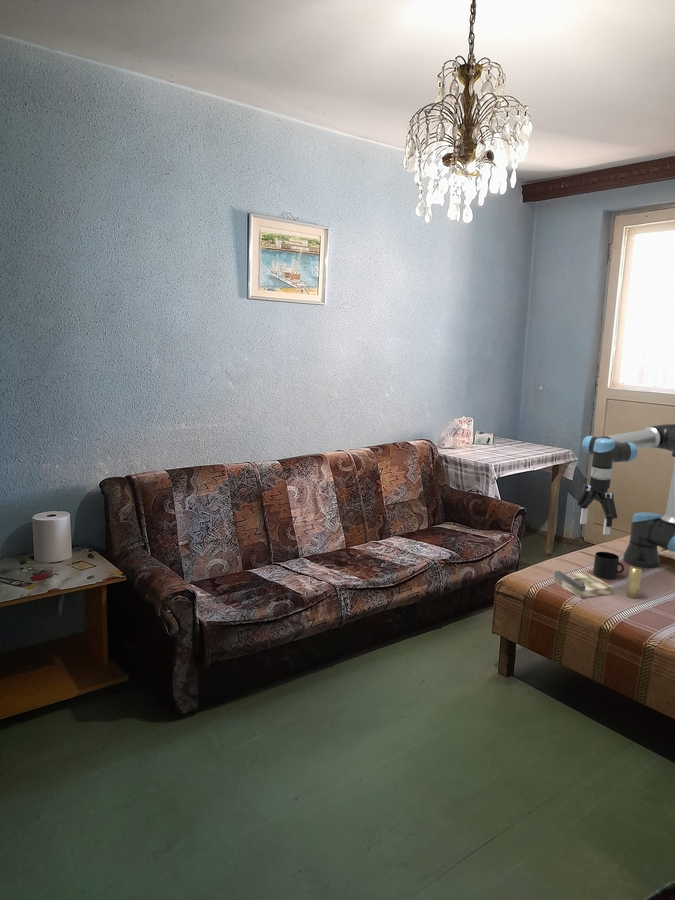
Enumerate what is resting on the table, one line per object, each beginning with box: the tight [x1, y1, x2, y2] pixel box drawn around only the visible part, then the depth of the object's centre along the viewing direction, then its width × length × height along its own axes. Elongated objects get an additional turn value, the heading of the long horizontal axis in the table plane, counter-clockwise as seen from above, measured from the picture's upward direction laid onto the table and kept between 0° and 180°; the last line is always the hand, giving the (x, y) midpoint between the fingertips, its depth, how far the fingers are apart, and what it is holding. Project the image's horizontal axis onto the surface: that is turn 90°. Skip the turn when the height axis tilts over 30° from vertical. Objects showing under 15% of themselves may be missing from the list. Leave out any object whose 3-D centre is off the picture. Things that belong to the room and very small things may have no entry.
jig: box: [553, 570, 614, 599], centre depth 259 cm, size 16×16×5 cm
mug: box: [592, 551, 625, 580], centre depth 273 cm, size 9×12×9 cm
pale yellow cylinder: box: [625, 565, 643, 600], centre depth 252 cm, size 4×4×12 cm
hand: (594, 528), depth 256 cm, fingers open, 13 cm apart
